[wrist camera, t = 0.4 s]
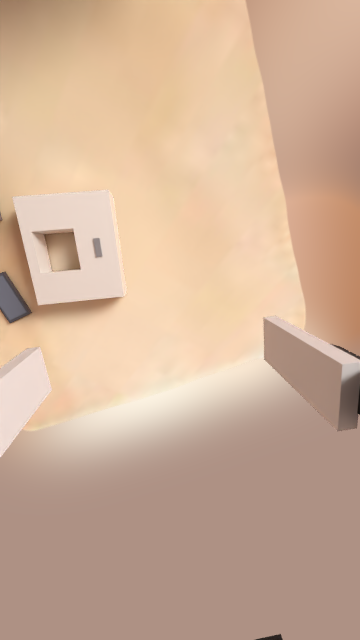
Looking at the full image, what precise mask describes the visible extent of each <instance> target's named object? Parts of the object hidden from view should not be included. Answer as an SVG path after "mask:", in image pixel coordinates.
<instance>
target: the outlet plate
mask: <svg viewBox="0 0 360 640" xmlns="http://www.w3.org/2000/svg"><path fill="white" fill-rule="evenodd" d="M12 198H13V202H14V206H15V210H16V215H17V219H18V223H19V227H20V231H21V236H22V240H23V244H24V248H25V252H26V257H27V261H28V265H29V269H30V273H31V277H32V282H33V286H34V290H35V294H36V298H37V303H38V305H45V304H55V303H65V302H75V301H84V300H94V299H104V298H114V297H124V296H125V295H126V293H127V288H126V281H125V274H124V267H123V260H122V253H121V246H120V239H119V232H118V225H117V218H116V211H115V204H114V197H113V195H112V194H111V193H110V191H109V190H98V191H84V192H70V193H57V194H43V195H29V196H15V197H12ZM64 232H74V235H75V241H76V246H77V252H78V257H79V262H80V268H81V269H74V270H63V271H53V272H52V268H51V264H50V259H49V254H48V250H47V245H46V240H45V236H44V234H52V233H64Z"/></svg>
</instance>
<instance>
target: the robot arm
mask: <svg viewBox="0 0 360 640" xmlns="http://www.w3.org/2000/svg"><path fill="white" fill-rule="evenodd" d="M264 360H266V361H267V362H268V363H269V364H270V365H271V366H272V367H273V368H274V369H275V370H276V371H277V372H278V373H279V374H280V375H281V376H282V377H283V378H284V379H285V380H286V381H287V382H288V383H289V384H290V385H291V386H292V387H293V388H294V389H295V390H296V391H297V392H298V393H299V394H300V395H301V396H302V397H303V398H304V399H305V400H306V401H307V402H308V403H309V404H310V405H311V406H312V407H313V408H315V409H316V410H317V411H318V412H319V413H320V414H321V415H322V416H323V417H324V418H325V419H326V420H327V421H328V422H329V423H330V424H331V425H332V426H333V427H334V428H335V429H336V430H337V431H342V430H348V429H355V428H357V422H358V414H360V356H356V354H353V353H352V352H349V351H348V350H346V349H344V348H342V347H340V346H336V345H333V344H329V343H327V342H325V341H323V340H321V339H319V338H317V337H315V336H313V335H311V334H310V333H308V332H306V331H304V330H302V329H300V328H298V327H296V326H294V325H292V324H290V323H289V322H287V321H285V320H283V319H281V318H279V317H277V316H271V317H264ZM51 390H52V388H51V385H50V381H49V377H48V374H47V370H46V367H45V363H44V359H43V356H42V352H41V348H40V347H35V348H27V349H25V350H24V351H22V352H21V353H20V354H18V355H17V356H16V357H14V358H13V359H12V360H10V361H9V362H8V363H6V364H5V365H3V366H2V367H1V368H0V457H1V456H2V455H3V453H4V452H5V451H6V449H7V448H8V447H9V445H10V444H11V443H12V441H13V440H14V439H15V437H16V436H17V435H18V433H19V432H20V431H21V430H22V428H23V427H24V426H25V424H26V423H27V422H28V420H29V419H30V418H31V416H32V415H33V414H34V412H35V411H36V410H37V409H38V407H39V406H40V405H41V403H42V402H43V401H44V399H45V398H46V397H47V395H48V394H49V393H50V391H51ZM256 640H282V637H281V634H280V635H274V636H270V637H265V638H260V639H256Z"/></svg>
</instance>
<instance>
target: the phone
mask: <svg viewBox="0 0 360 640" xmlns="http://www.w3.org/2000/svg"><path fill="white" fill-rule="evenodd" d="M0 310H1V311H2V312H3V314H4V315H5V317H6V318H7V320H8V321H9V323H12V322H14V321H16V320H18V319H20V318H22V317H24V316H26V315H28V314H30V313H32V312H31V310H30V309H29V307H28V306H27V304H26V303H25V301H24V300H23V298H22V297H21V295H20V293H19V292H18V290H17V289H16V287H15V286H14V284H13V283H12V281H11V280H10V278H9V277H8V275H7V274H6V272H2V273H0Z"/></svg>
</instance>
